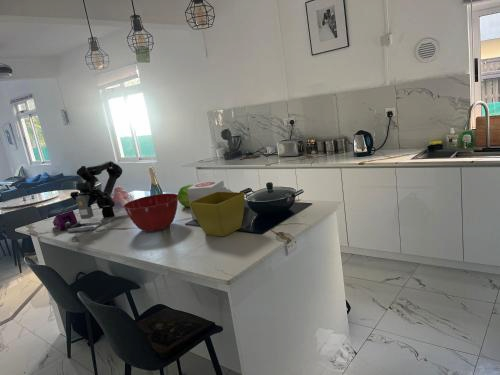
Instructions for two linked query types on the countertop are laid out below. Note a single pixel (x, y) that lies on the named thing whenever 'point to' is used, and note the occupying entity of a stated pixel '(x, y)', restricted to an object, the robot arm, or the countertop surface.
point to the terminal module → (84, 207)
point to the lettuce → (184, 196)
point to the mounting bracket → (64, 220)
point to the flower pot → (219, 212)
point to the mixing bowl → (153, 211)
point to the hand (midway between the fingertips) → (83, 207)
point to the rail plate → (84, 227)
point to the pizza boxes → (204, 191)
